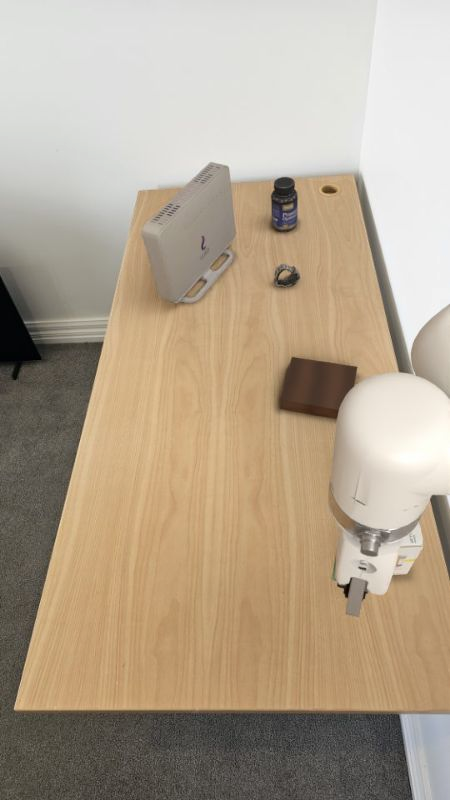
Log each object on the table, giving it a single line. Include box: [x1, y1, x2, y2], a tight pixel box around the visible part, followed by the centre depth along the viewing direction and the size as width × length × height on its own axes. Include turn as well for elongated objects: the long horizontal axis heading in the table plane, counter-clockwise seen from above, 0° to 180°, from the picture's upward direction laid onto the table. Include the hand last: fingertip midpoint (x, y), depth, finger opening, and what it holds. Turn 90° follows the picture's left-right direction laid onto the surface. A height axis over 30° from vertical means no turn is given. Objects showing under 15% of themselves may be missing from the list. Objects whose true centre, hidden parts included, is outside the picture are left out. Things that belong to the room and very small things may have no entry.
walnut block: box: [279, 356, 358, 420], centre depth 90 cm, size 12×10×3 cm
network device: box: [141, 161, 237, 304], centre depth 106 cm, size 26×9×20 cm, turn 148°
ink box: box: [393, 521, 424, 576], centre depth 69 cm, size 9×5×12 cm, turn 0°
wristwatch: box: [273, 263, 301, 288], centre depth 107 cm, size 3×5×5 cm
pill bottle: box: [270, 176, 299, 233], centre depth 116 cm, size 6×6×11 cm
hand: (355, 563), depth 55 cm, fingers closed on green cube, 4 cm apart
